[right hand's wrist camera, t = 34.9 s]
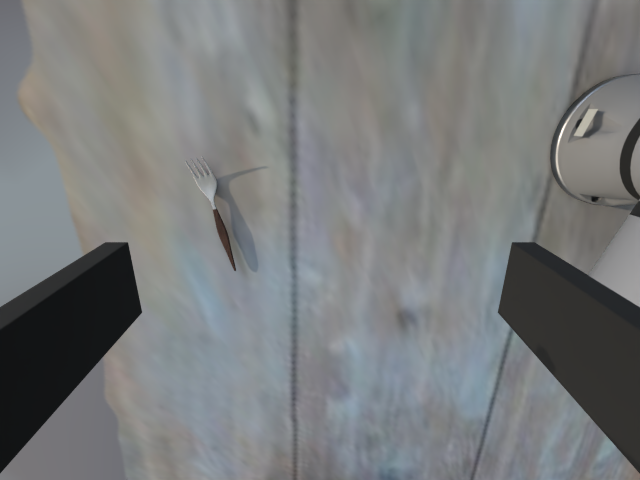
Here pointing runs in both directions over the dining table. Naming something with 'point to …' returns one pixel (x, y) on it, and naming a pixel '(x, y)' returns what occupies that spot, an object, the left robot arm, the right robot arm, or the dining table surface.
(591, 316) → the right robot arm
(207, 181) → the fork
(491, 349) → the dining table surface
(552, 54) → the dining table surface
